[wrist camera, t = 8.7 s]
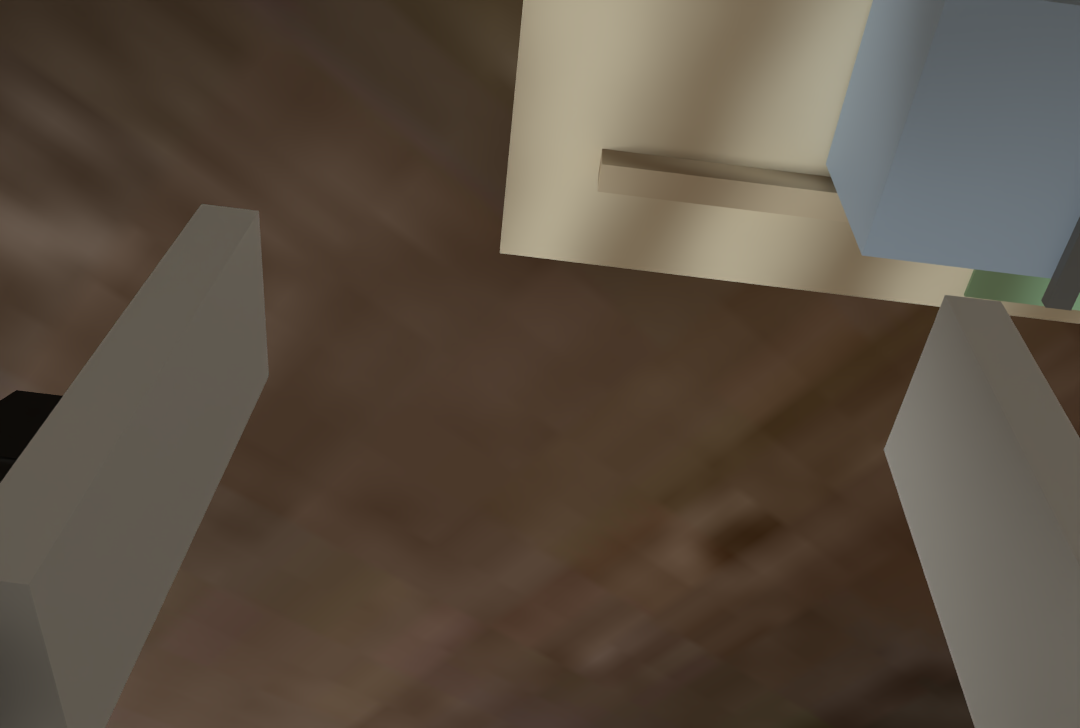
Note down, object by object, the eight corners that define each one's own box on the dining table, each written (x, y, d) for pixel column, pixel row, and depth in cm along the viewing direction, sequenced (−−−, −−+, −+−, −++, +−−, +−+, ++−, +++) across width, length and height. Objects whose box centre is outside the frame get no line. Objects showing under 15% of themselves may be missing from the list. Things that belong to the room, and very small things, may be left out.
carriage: (819, 184, 28) (857, 284, 24) (901, -99, 24) (964, -39, 20) (1000, 206, 28) (1071, 310, 24) (1114, -72, 24) (1224, -6, 20)
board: (503, 233, 31) (496, 270, 29) (556, -323, 23) (551, -319, 21) (1224, 321, 31) (1260, 363, 29) (1529, -197, 23) (1606, -183, 21)
